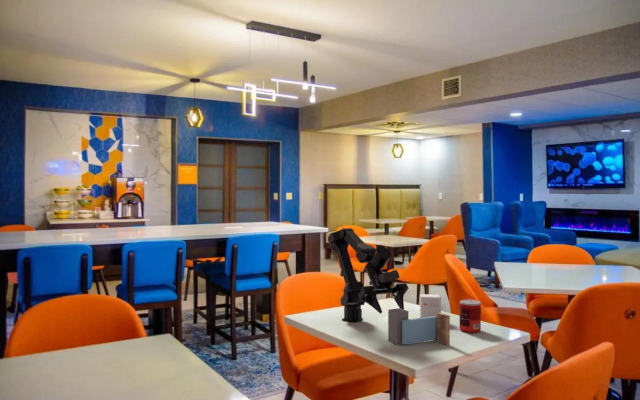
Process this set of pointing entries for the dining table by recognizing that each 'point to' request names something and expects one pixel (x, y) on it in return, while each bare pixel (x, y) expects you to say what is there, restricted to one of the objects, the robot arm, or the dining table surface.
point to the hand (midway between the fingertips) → (392, 311)
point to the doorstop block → (396, 324)
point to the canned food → (470, 316)
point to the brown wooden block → (443, 328)
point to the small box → (429, 305)
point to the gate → (419, 330)
